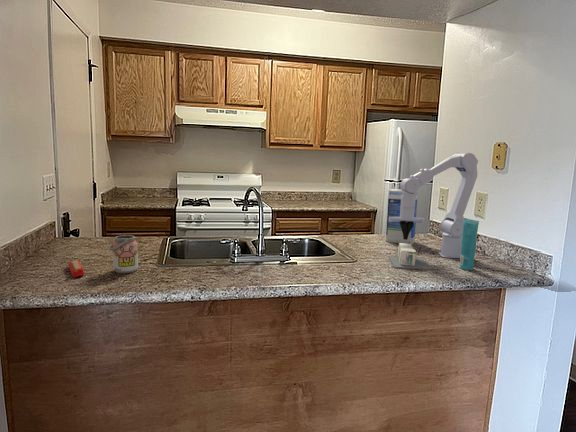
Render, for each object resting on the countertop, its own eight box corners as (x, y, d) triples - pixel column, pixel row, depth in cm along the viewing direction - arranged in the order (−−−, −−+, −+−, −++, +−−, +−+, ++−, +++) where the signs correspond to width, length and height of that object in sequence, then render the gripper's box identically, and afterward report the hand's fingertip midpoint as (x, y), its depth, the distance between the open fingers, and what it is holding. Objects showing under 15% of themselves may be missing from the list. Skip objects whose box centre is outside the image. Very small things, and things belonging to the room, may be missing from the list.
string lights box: (414, 242, 200) (418, 190, 196) (412, 245, 193) (416, 191, 189) (387, 239, 206) (391, 188, 202) (384, 241, 199) (388, 189, 195)
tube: (478, 270, 153) (483, 220, 150) (469, 271, 151) (474, 221, 148) (462, 265, 160) (467, 217, 157) (453, 266, 158) (458, 218, 155)
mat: (422, 259, 168) (422, 257, 168) (432, 270, 152) (432, 268, 152) (388, 257, 169) (388, 256, 169) (394, 268, 153) (394, 266, 153)
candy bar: (67, 267, 144) (67, 259, 144) (79, 266, 146) (78, 258, 146) (72, 280, 131) (72, 271, 131) (85, 278, 133) (84, 269, 133)
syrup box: (411, 256, 169) (415, 266, 155) (397, 255, 170) (399, 264, 156) (412, 243, 168) (417, 251, 154) (398, 242, 169) (401, 250, 155)
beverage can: (110, 275, 136) (109, 240, 134) (109, 268, 143) (107, 235, 141) (140, 272, 140) (138, 238, 138) (136, 266, 147) (135, 233, 145)
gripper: (423, 206, 172) (420, 237, 174) (388, 205, 173) (386, 236, 175) (427, 209, 165) (424, 241, 167) (391, 207, 166) (388, 239, 168)
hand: (405, 239), depth 171 cm, fingers closed
